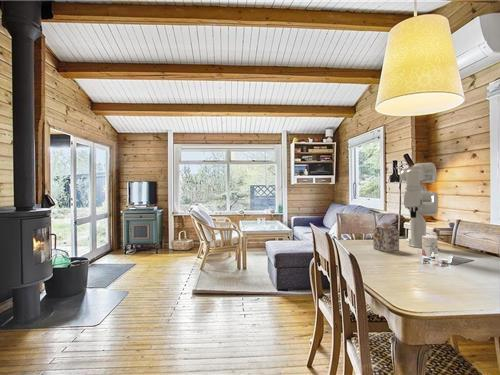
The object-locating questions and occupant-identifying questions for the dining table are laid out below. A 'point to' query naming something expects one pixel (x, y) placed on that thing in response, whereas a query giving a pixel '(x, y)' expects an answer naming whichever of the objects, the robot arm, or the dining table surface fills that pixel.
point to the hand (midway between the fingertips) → (413, 217)
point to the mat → (459, 260)
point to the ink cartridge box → (429, 244)
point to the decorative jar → (386, 238)
